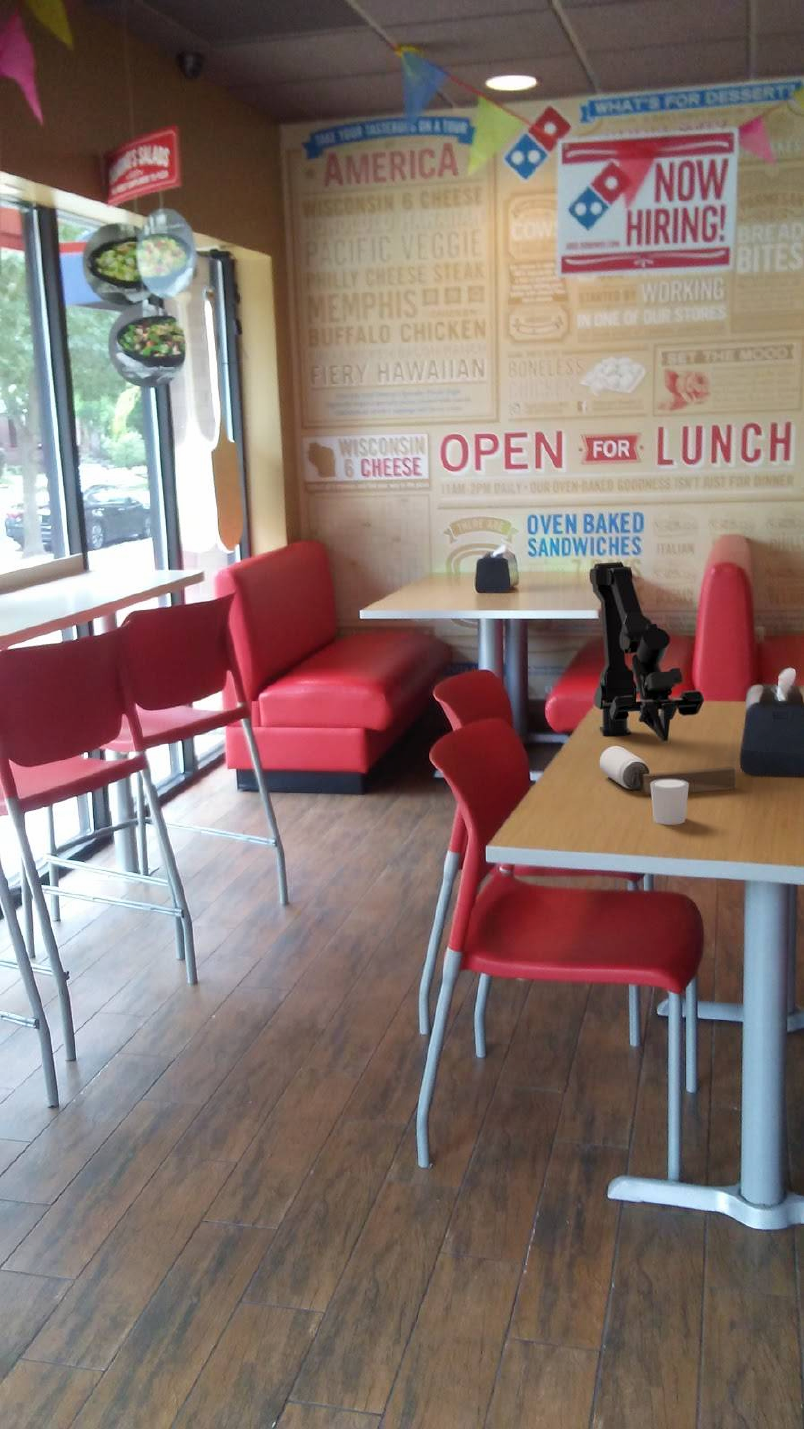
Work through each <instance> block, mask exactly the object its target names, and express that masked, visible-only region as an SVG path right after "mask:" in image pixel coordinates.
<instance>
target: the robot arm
mask: <svg viewBox="0 0 804 1429" xmlns="http://www.w3.org/2000/svg"><path fill="white" fill-rule="evenodd" d="M588 575H589V581H590V582H589V583H590V584H591V587H592V591H593V594H594V595H595V596H596V597H597V599H598V601H599V603H600V608H601V624H602V635H603V636H602V638H603V652H604V653H603V654H604V666H603V668H602V670H601V673H600V674H599V677H598V680H599V681H598V684H597V687H596V689H595V693H594V695H593V701H594V706H595V707H596V708H598V709H599V710H602V726H600V727H598V728H599V731H600V732H601V734H602V735H603V736H619V735H621V736H622V735H631V734H632V731H631V729H630V728H629V727H628V718H629V716H630V714H629V713H630V712H631V713H632V712H638V714H639V717H638V722H639V723H644V724H645V725H647V727H648V728H649V729H651V730H652V731H653V732H654V734H655V735H657V736H658V737H659V739H660V740H661V741H663V742H668V740H669V733H670V722H671V721H672V720H673V719H674V716H675V715H676V712H678V714H680V715H681V716H682V717H684V716H695V715H698V714H699V712H700V711H701V708H702V706H703V703H704V702H705V698H704V694H703V693H702V692H701V691H700V690H698V689H697V690H684V691H682V692H681V694H680V696H679V697H678V698H677V697H676V698H670V697H669V696H672V693H673V688H675V687H676V685H677V686H679V685H680V684H682V682H683V675H682V671H681V669H680V667H675V668H674V667H673V668H671V669H670V670H669V671H662V669H661V665H660V663H661V662H663V661H664V658H665V656H666V652H667V650H668V648H669V646H670V642H671V637H670V634H669V633H667V631H666V630H664V629H662V628H660V627H658V624H657V623H653V622H652V621H651V619H649V618H648V617H646V616H645V615H644V614H643V611H642V608H641V605H640V601H639V598H638V595H637V591H636V588H635V585H634V582H633V572H632V566H624V563H623V562H621V561H616V562H615V561H614V562H600V563H599V562H598V563H595V564H594V566H593V568H590V570H589V574H588ZM626 654H627V655H633V656H632V658H631V659H630V664H631V667H630V668H629V666H628V665H627V663H626V656H625V655H626ZM637 694H638V695H639V699H640V700H639V701H637ZM659 713H660V714H659Z"/></svg>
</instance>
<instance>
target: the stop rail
mask: <svg viewBox="0 0 804 1429" xmlns="http://www.w3.org/2000/svg"><path fill="white" fill-rule="evenodd" d="M659 779H679V780H683V781H686V782H688V783H689V787H688V794H690V793H701V792H712V791H722V790H723V791H725V790H726V791H727V790H734V789H736V769H735V767H733V766H729V767H728V766H726V767H716V768H703V769H691V770H681V771H678V770H677V771H667V772H657V773H656V772H654V773H650V774H643V787H642V794H643V795H644V796H645V797H652V796H651V786H650V784H651V782H653V781H655V780H659Z"/></svg>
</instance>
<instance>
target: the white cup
mask: <svg viewBox="0 0 804 1429" xmlns="http://www.w3.org/2000/svg"><path fill="white" fill-rule="evenodd" d="M650 786H651V796H650V797H651V804H652V814H653V815H652V816H653V821H654V823H657V824H659V825H660V824H661V825H664V826H665V825H666V826H667V825H669V826H672V825H674V826H675V825H680V824H683V823H685V822H686V819H687V818H686V816H687V806H688V805H687V804H688V797H689V796H688V795H689V793H688V787H689V783H688V782H686V781H683V780H679V779H659V780H655V781H653V782H651V784H650Z"/></svg>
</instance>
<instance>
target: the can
mask: <svg viewBox="0 0 804 1429" xmlns="http://www.w3.org/2000/svg"><path fill="white" fill-rule="evenodd" d="M599 767H600V770H601V771H602V772H603V773H604V774H605V775H606V776H607V777H609V778H610V779H612V780H614V782H616V783H618V784H619V785H621V786H622V787H623V788H624V789H630V790H639V789H642V788H643V774H651V773H650V769H649V767H648V765H647V763H646V762H645V761H644V760H643V759H642V758H640V757H639V756H637V755H635V754H634V753H632V752H631V751H629V750H627V749H625V748H623V747H621V746H619V745H612V746H610V747H608V748H606V749H605V750H604V751H603V752H602V754H601V755H600V758H599Z"/></svg>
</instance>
